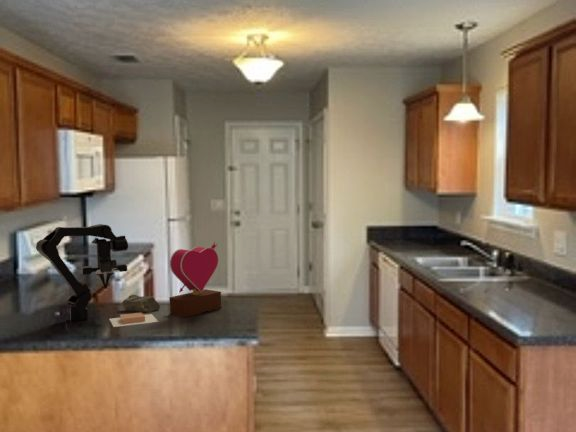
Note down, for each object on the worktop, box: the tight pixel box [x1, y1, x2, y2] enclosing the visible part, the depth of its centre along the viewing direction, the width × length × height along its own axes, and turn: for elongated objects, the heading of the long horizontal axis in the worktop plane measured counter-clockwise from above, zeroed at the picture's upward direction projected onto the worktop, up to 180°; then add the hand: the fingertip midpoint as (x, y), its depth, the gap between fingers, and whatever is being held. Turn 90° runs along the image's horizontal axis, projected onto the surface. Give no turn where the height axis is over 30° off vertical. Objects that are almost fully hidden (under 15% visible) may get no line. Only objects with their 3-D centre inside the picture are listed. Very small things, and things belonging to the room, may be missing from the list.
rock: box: [121, 294, 161, 313], centre depth 272 cm, size 17×7×10 cm
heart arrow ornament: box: [168, 242, 223, 318], centre depth 270 cm, size 25×10×30 cm, turn 141°
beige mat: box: [108, 313, 159, 328], centre depth 254 cm, size 18×15×1 cm
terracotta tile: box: [119, 312, 145, 324], centre depth 254 cm, size 2×8×9 cm
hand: (105, 288), depth 265 cm, fingers closed
